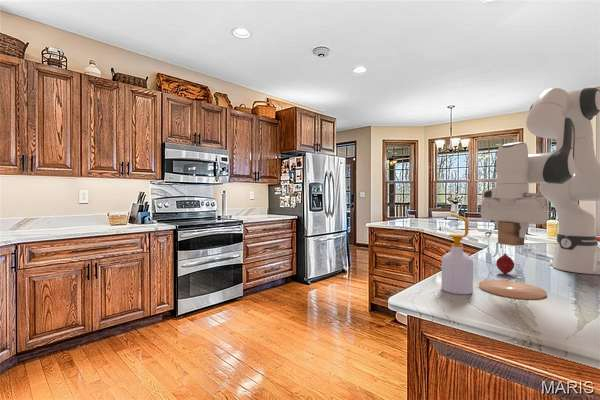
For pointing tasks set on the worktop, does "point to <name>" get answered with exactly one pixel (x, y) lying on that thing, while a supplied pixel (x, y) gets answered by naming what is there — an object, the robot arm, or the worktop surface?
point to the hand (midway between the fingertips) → (511, 236)
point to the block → (509, 233)
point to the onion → (505, 264)
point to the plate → (512, 289)
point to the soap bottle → (457, 266)
